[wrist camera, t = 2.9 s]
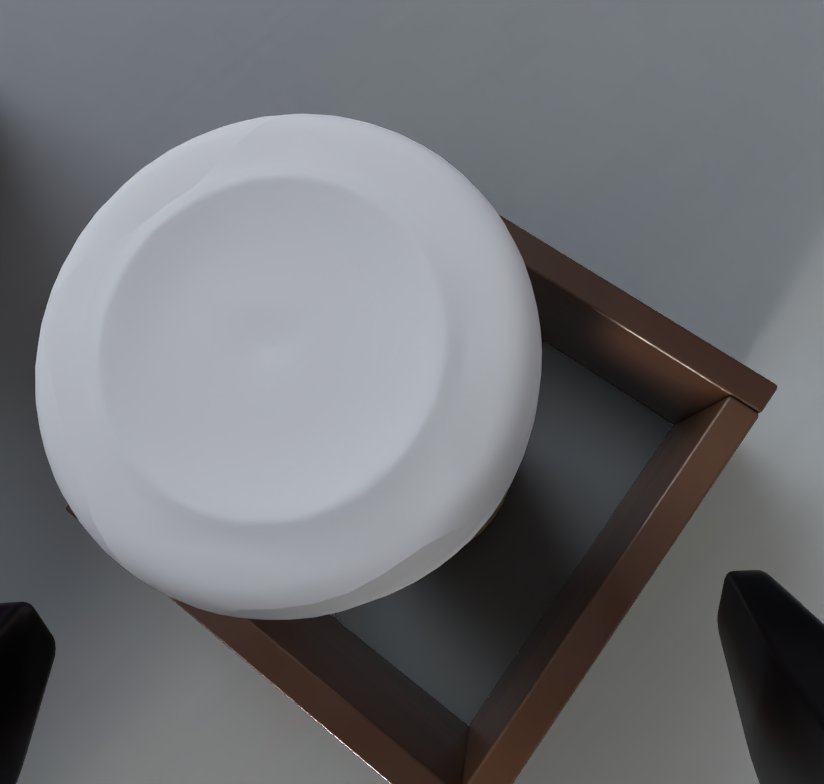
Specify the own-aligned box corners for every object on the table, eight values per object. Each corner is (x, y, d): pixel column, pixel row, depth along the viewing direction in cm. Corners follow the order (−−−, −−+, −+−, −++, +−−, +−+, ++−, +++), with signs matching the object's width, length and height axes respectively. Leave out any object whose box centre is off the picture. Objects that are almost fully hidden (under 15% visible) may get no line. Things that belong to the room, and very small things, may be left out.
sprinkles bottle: (512, 552, 18) (558, 640, 5) (342, 551, 19) (-21, 626, 6) (509, 382, 19) (538, 71, 6) (345, 385, 20) (37, 108, 6)
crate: (475, 767, 17) (468, 852, 13) (160, 511, 19) (63, 508, 15) (711, 418, 18) (780, 385, 14) (384, 210, 20) (354, 125, 16)
